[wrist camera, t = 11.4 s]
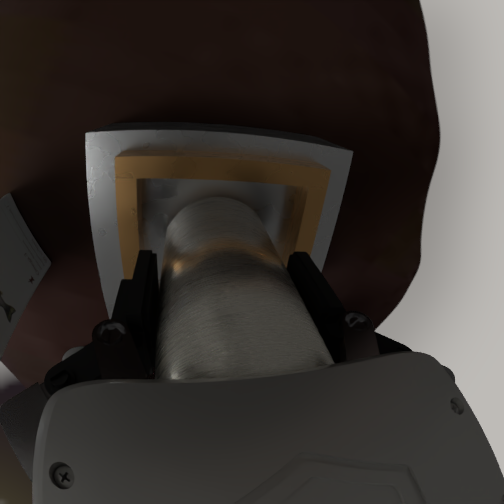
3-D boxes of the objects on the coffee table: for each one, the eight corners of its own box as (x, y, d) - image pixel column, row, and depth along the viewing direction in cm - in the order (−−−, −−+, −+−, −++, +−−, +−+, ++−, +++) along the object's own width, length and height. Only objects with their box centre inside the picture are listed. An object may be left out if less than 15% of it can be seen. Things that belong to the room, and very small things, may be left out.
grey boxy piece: (112, 123, 15) (74, 137, 9) (322, 137, 18) (374, 159, 13) (121, 277, 21) (106, 336, 15) (291, 277, 24) (319, 330, 19)
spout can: (164, 195, 13) (138, 378, 5) (273, 200, 14) (378, 354, 6) (167, 310, 17) (172, 467, 8) (252, 309, 18) (298, 452, 10)
